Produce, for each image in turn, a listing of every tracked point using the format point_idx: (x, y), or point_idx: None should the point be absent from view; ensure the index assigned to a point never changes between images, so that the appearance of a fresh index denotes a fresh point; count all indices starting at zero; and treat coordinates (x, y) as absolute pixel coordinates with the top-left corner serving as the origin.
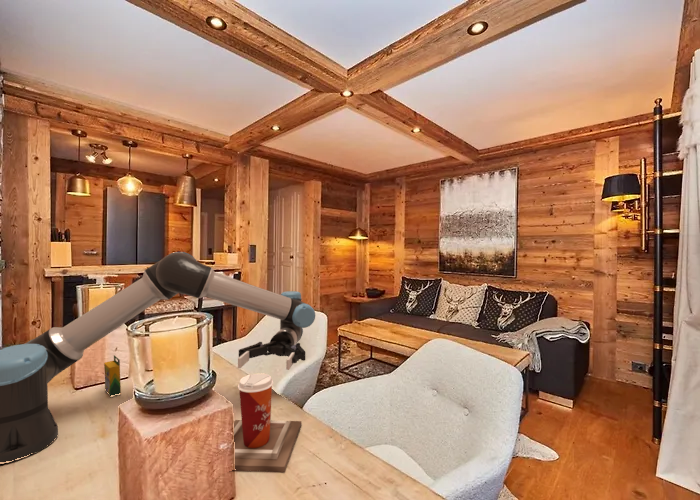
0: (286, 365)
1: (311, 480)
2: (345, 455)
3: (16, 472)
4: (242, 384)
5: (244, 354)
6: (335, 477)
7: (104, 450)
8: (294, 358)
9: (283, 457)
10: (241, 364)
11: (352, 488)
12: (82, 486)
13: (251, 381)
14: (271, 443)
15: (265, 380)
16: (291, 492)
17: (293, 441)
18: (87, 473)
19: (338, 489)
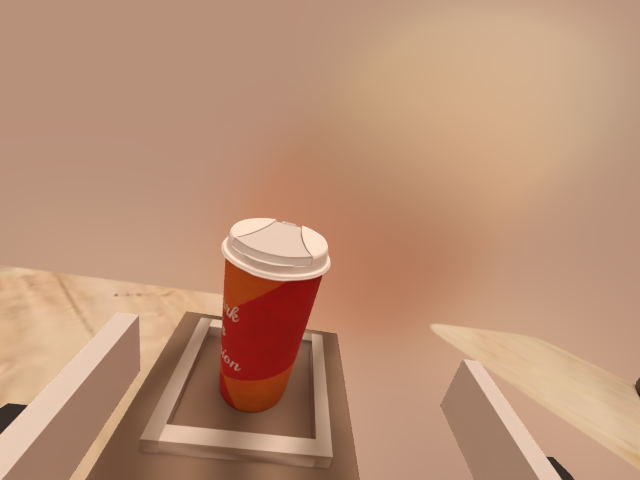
0: (139, 346)
1: (139, 301)
2: (23, 341)
3: (592, 368)
4: (307, 228)
5: (522, 442)
6: (91, 300)
7: (557, 406)
8: (18, 404)
9: (185, 328)
10: (453, 405)
11: (74, 282)
12: (470, 336)
13: (288, 230)
14: (212, 369)
15: (247, 225)
16: (179, 291)
17: (151, 372)
18: (498, 355)
19: (100, 284)
